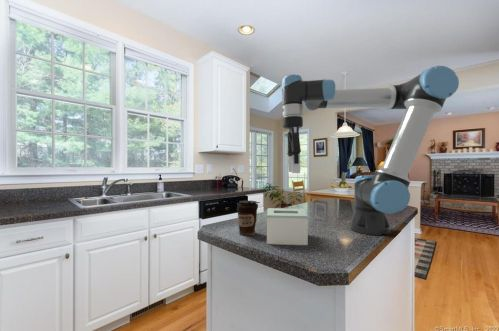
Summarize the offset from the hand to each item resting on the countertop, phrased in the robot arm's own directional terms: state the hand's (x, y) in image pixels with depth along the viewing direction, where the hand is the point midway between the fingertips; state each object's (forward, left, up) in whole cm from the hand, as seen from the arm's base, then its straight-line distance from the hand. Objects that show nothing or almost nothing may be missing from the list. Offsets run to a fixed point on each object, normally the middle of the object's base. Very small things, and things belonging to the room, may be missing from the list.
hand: (293, 172), depth 92 cm
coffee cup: (+18, -3, -25) cm, 31 cm away
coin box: (+3, +2, -25) cm, 25 cm away
